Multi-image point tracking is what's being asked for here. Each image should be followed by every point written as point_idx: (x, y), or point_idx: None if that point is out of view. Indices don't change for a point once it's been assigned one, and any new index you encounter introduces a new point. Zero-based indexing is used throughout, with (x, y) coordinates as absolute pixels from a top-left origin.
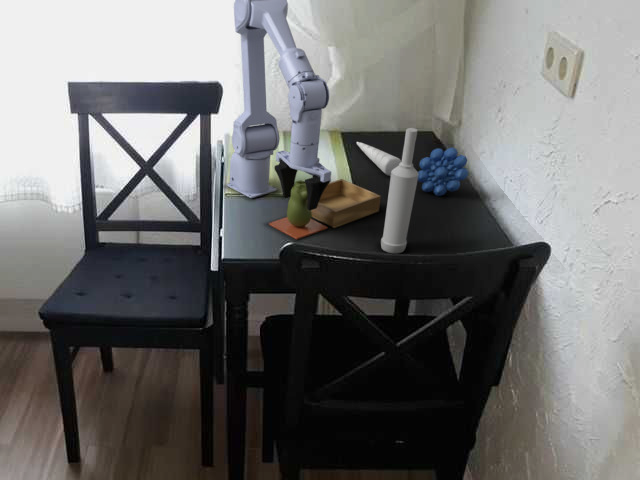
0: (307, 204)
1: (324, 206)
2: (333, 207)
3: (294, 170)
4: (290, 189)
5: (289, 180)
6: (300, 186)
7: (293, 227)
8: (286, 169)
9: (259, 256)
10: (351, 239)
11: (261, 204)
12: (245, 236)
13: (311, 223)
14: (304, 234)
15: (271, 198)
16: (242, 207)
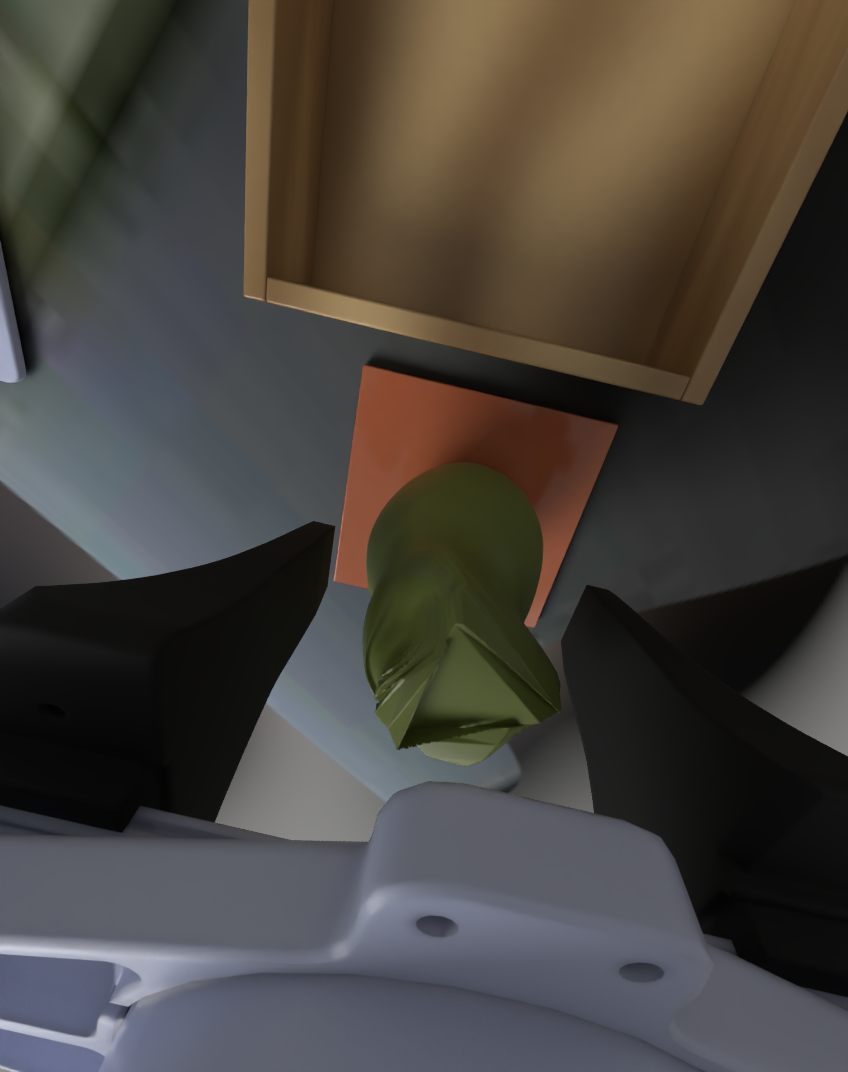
0: (569, 681)
1: (572, 374)
2: (502, 46)
3: (220, 666)
4: (311, 575)
5: (268, 640)
6: (476, 753)
7: None
8: (195, 807)
9: (485, 778)
10: (807, 452)
11: (122, 399)
12: (343, 702)
13: (510, 448)
14: (546, 580)
15: (76, 270)
16: (104, 499)
